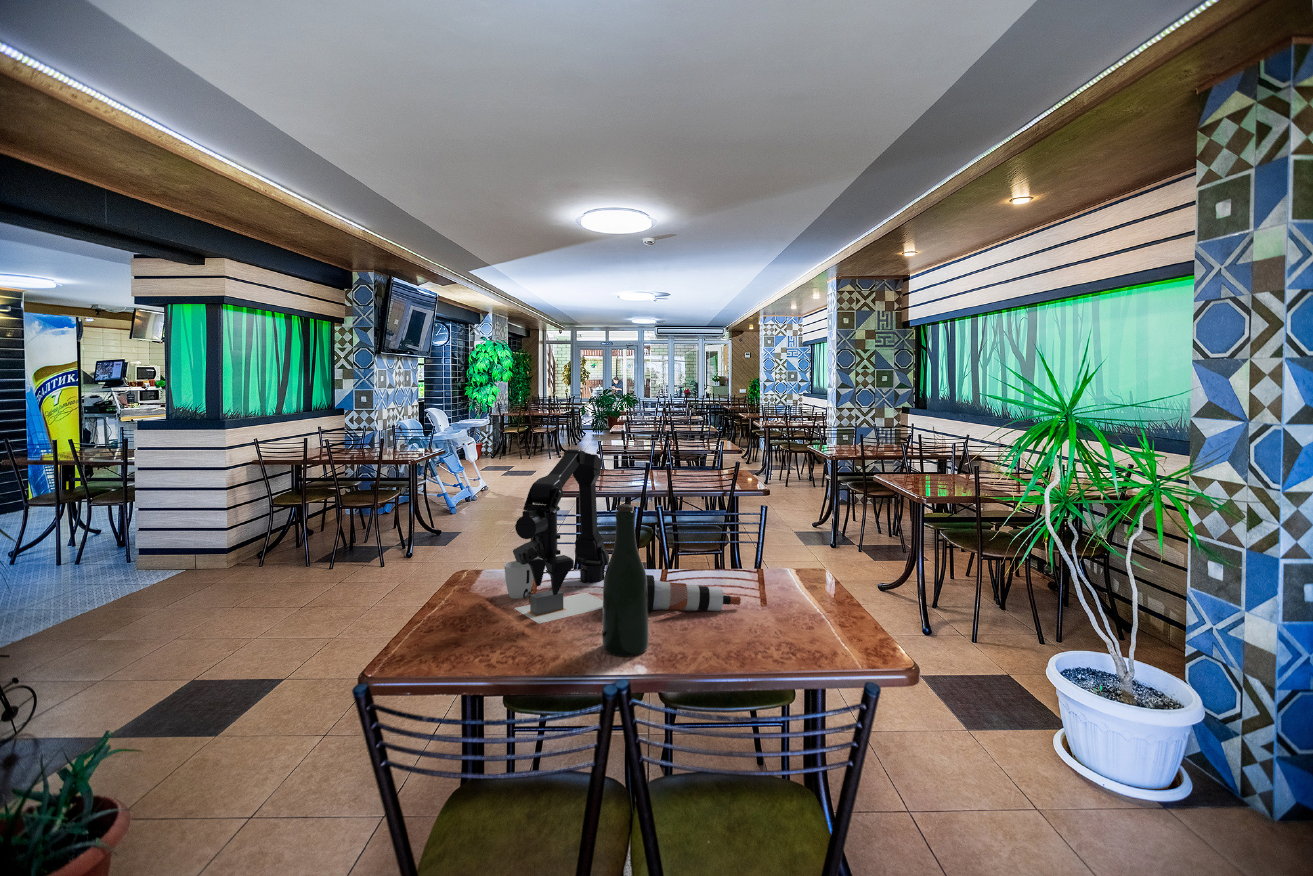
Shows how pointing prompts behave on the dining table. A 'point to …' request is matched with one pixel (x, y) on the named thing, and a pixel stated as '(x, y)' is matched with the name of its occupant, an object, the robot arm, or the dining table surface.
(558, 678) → the dining table surface
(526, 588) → the cup
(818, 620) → the dining table surface
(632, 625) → the beer bottle
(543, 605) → the block
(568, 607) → the board
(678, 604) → the striped bottle lying down
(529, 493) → the robot arm
